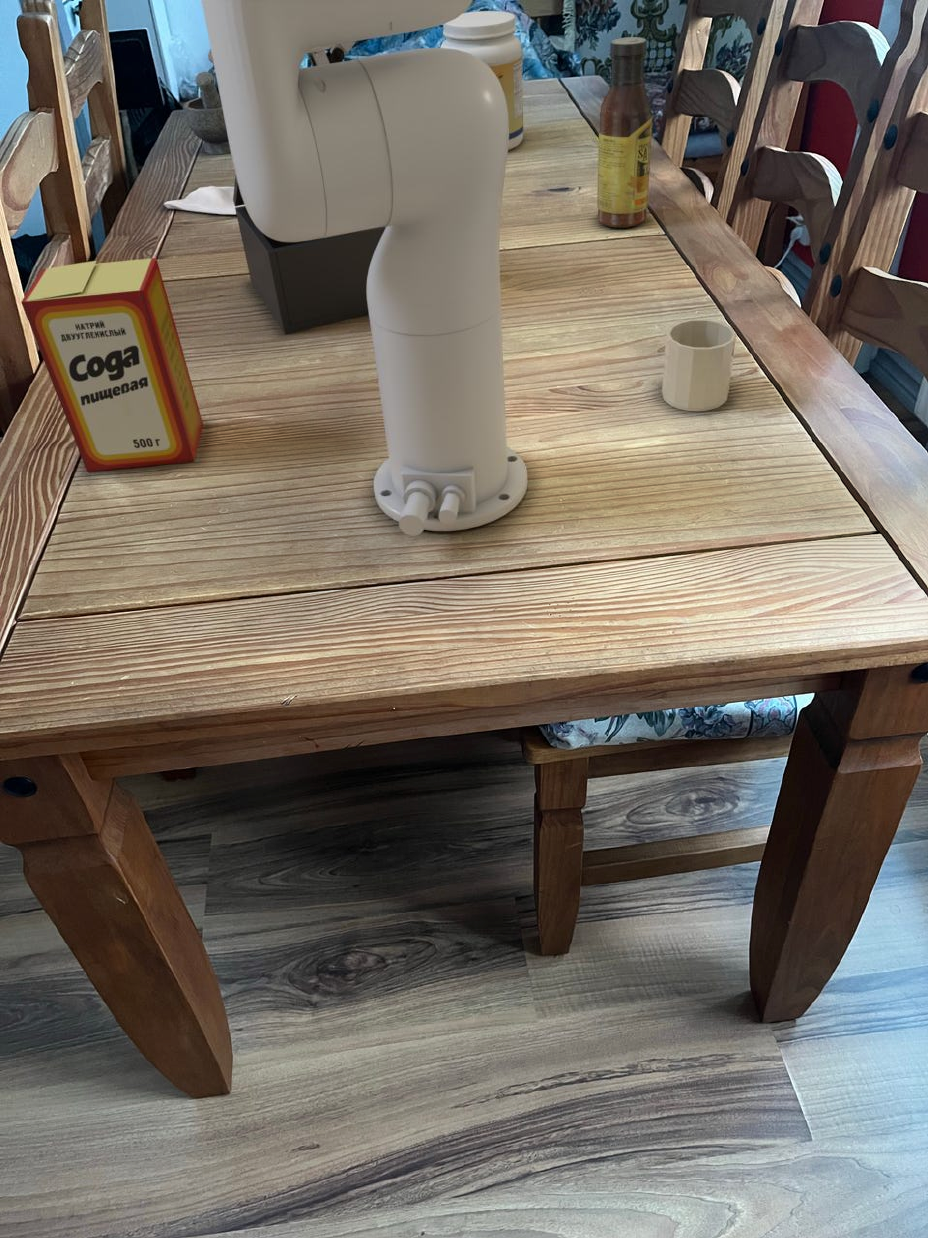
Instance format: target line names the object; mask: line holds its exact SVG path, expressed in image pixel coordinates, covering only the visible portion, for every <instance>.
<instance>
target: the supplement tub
mask: <svg viewBox="0 0 928 1238" xmlns="http://www.w3.org/2000/svg"><path fill="white" fill-rule="evenodd" d="M516 31H517V25H516V17H515V14H513V13H512V12H507V11H499V10H481V11H469V12H464V13H463V14H461V15H460V16H459V17H457V18H456V19H454V20H452V21H449V22H447V23H445V24H443V31H442V35H443V37H444V38H445V40H443V41H442V43H441V45H440V47H439V48H447V49H456V50H460V51H463V52H466V53H469V54H471V55H473V56H475V57H477V58H479V59H480V60H481V61H483V62H484V63H485V64H487V65H488V66H489V67H490V68H491V70H492V71H493V72H494V74H495V75H496V77H497V78H498V80H499V82H500V84H501V87H502V89H503V92H504V95H505V99H506V103H507V109H508V118H509V143H508V151H510V150H512V149H514V148H516V147H518V146H519V145H520V144H521V143H522V140H523V139H524V131H525V130H524V105H523V103H524V101H523V100H524V99H523V49H522V48H523V46H522V43H521V41H520V39H519V38H518V36H516V35H514V34H515V32H516Z"/></svg>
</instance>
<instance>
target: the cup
mask: <svg viewBox="0 0 928 1238" xmlns="http://www.w3.org/2000/svg"><path fill="white" fill-rule="evenodd" d="M736 338H737V333H736V331H735V330H734V329H733V327H732V326H730V325H728V324H726V323H725V322H723V321H718V320H713V319H709V318H692V319H687V320H683V321H678V322H676V323H674V324H673V325H671V326H669V328H668V330H667V332H666V336H665V349H664V360H663V361H664V362H663V374H662V384H661V385H662V386H661V393H662V399H663V401H664V402H666V404H668V405H669V406H671V407H673V408H675V409H678V410H682V411H686V412H707V411H711V410H715V409H718V408H719V407H721V406H723V405H724V404H725V403H726V402H727V400H728V397H729V392H730V384H731V379H732V369H733V361H734V354H735V347H736Z"/></svg>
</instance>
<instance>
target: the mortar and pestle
mask: <svg viewBox="0 0 928 1238" xmlns="http://www.w3.org/2000/svg"><path fill="white" fill-rule="evenodd" d="M195 83H196V86H198V87H199V91H200V96H199V97H195V98H193V99H191V100H189V101H186V102H184V105H183V111H184V116H185V119H186V122H187V124H188V127H189V128H190V129H191V131H192V132H193V133H194V136H196V137H198V139H200V140H201V141H202V142H204V144H203V146H204V152H205V153H206V154H210V155H225V154H231V150H230V145H229V140H228V135H227V129H226V124H225V119H224V114H223V108H222V103H221V98H220V93H219V92H218V91H217V88H216V85H215V83H216V82H215V77H214V74H212V73H211V72H209V71H201V72H199V73H198V74H197V75H196V76H195Z"/></svg>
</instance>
